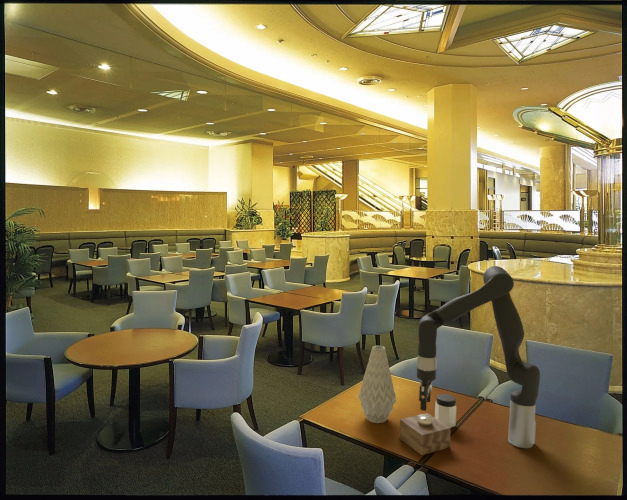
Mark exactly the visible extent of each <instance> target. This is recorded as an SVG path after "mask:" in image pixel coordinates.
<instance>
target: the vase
mask: <svg viewBox="0 0 627 500" xmlns="http://www.w3.org/2000/svg"><path fill="white" fill-rule="evenodd" d="M363 375H364V376H363V378H362V383H361V386H360V389H359V393H358V399H359V401H360V405H361V409H362V412H363V414H364V416H365V418H366V420H367V421H369V422H370V423H374V424H383V423H385V422H386V421H387V420H388V418H389V417H390V415H391V412H392V411H393V409H394V405H395V403H396V402H397V397H396V391H395V387H394V382H393V378H392V373H391V369H390V365H389V360H388V356H387V351H386V347H385V346H384V345H375V346H372V347H371V352H370V355H369V358H368V363H367V366H366V369H365V372H364V374H363Z"/></svg>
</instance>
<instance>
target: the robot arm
mask: <svg viewBox="0 0 627 500" xmlns="http://www.w3.org/2000/svg"><path fill="white" fill-rule="evenodd" d="M482 278H483V283H484V284H483V285H482V286H481V287H480V288H478V289H477V290H473V291H472V292H470V293H468V294H463V295H461V296H457V297H455V298H453V299H450V300H449V301H448V302H446V303H444V304H443V305H442V306H440V307H439V308H437V309H435V310H433V311H431V312H428V313H427V314H425V315H423V316H422V317H421V318H420V319H419V322H418V344H417V345H418V346H417V359H416V377H417V379H418V380H421V382H420V384H419V393H418V396H419V397H418V398H419V399H418V401H419V402H420V406H419V407H420V410H421V411H422V412H424V411H425V412H426V411H427V407H428V406H427V404H428V403H430V402H431V395H432V394H431V393H432V390H433V381H435V380H436V379H437V338H438V337H437V335H438V334H437V333H438V329H439V328H440V327H442V326H444V325H445V324H450V323H453V322H454V321H456V320H457V319H459V318H461V317H463V316H464V315H465V314H467V313H469V312H471V311H473V310H474V309H476V308H479V307H480V306H483V305H485V304H487V303H490V302H491V306H492V311H493V315H494V316H493V317H494V321H495V326H496V330H497V332H498V337H499V340H500V344H501V347H502V352H503V356H504V361H505V369H506V374H507V376H508V378H509V380H510V381H511V382H514V383H515V384H517V385H520V386H521V390H514V391H512V392H511V393H510V401H509V419H508V437H507V440H508V442H509V444H510V445H513V446H514V447H517V448H521V449H531V448H533V446H534V445H535V443H536V430H537V429H536V428H537V427H536V426H537V421H536V405H537V404H536V403H537V399H538V396H539V390H540V389H539V388H540V381H541V372H540V369H539V367H538V366H537V365H535V364H531V363H529V362H526V361H523V360H522V358H521V355H520V351H519V349H520V346H521V345H522V343H523V341H524V337H525V330H524V326H523V321H522V319H521V316H520V314H519V312H518V309H517V307H516V305H515V303H514V301H513V299H512V297H511V293H510V292H511V291H512V290H513V288H514V285H515V282H514V279H513V277H512V276H511V275H510V273H508V272H507V270H506V269H504V268H502V267H501V266H499V265H498V266H497V265H493V266H490V267H488V268H486V270H485V271H484V273H483V277H482Z"/></svg>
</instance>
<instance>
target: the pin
mask: <svg viewBox="0 0 627 500" xmlns="http://www.w3.org/2000/svg"><path fill="white" fill-rule="evenodd" d="M417 415H418V419H417V423H418V425H420V426H423V427H431V426H432V425H433V417H434V416H433V417H432V415H431V414H429V415H427V414H425V413H421V414H417ZM430 415H431V416H430Z"/></svg>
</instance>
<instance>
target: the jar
mask: <svg viewBox="0 0 627 500" xmlns="http://www.w3.org/2000/svg"><path fill="white" fill-rule="evenodd" d="M434 402H435V406H434V418H436V419H437V420H439V421H440V422H442V423H444V424H445V425H447V426H448V427H450V428H451V429H452V428H454V427H456V425H457V424H456V423H457V422H456V421H457V404H456V403H457V399H456V396H453V395H451V394H449V393H440V394H439V393H438V394H437V395H436V401H434Z"/></svg>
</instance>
